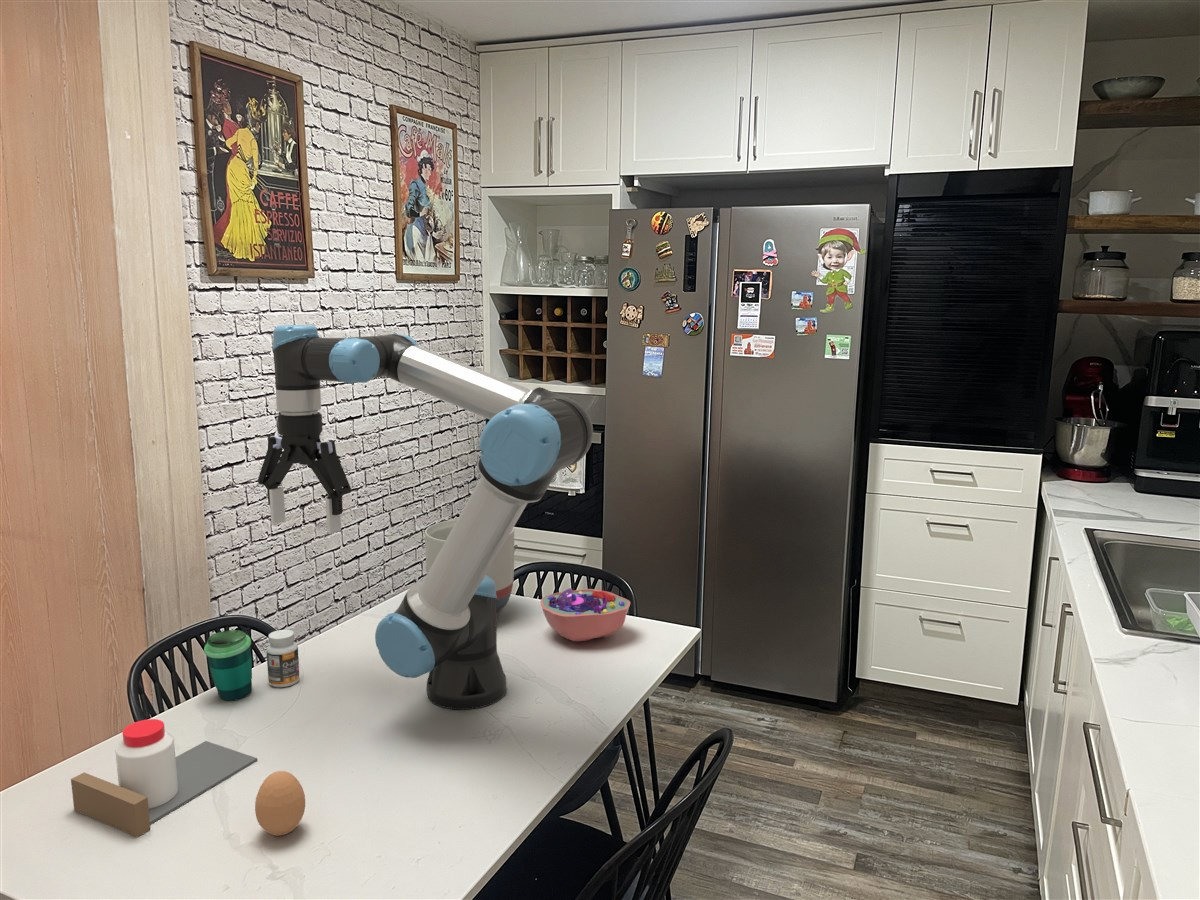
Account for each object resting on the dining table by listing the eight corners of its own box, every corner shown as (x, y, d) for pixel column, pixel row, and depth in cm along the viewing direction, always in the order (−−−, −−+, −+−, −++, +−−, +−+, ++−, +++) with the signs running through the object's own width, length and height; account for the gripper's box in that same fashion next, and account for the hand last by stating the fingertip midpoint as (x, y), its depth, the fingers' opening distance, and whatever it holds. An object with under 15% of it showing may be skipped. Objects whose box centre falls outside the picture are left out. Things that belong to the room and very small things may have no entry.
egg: (250, 847, 118) (245, 786, 116) (266, 818, 125) (262, 760, 123) (299, 846, 118) (295, 785, 117) (312, 817, 125) (309, 759, 123)
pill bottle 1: (134, 782, 133) (128, 716, 131) (186, 780, 133) (180, 714, 131) (110, 811, 125) (103, 742, 123) (165, 809, 126) (159, 740, 124)
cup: (264, 691, 164) (260, 632, 162) (230, 710, 156) (225, 648, 154) (233, 683, 167) (229, 625, 165) (198, 701, 160) (193, 640, 158)
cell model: (630, 653, 183) (631, 603, 181) (536, 652, 183) (536, 601, 181) (629, 623, 199) (629, 576, 197) (543, 622, 200) (543, 575, 198)
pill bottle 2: (289, 689, 165) (286, 641, 163) (262, 687, 166) (259, 638, 164) (305, 677, 170) (302, 629, 168) (278, 674, 171) (276, 627, 169)
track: (261, 761, 139) (259, 733, 139) (137, 837, 120) (134, 804, 119) (201, 741, 145) (199, 714, 145) (74, 810, 126) (70, 779, 125)
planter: (414, 630, 194) (411, 539, 190) (444, 599, 214) (442, 516, 210) (501, 637, 191) (500, 544, 187) (524, 605, 210) (523, 520, 206)
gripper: (368, 414, 151) (373, 530, 155) (264, 405, 162) (271, 514, 166) (338, 419, 145) (343, 541, 148) (232, 410, 155) (240, 523, 159)
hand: (305, 527), depth 157 cm, fingers open, 13 cm apart
